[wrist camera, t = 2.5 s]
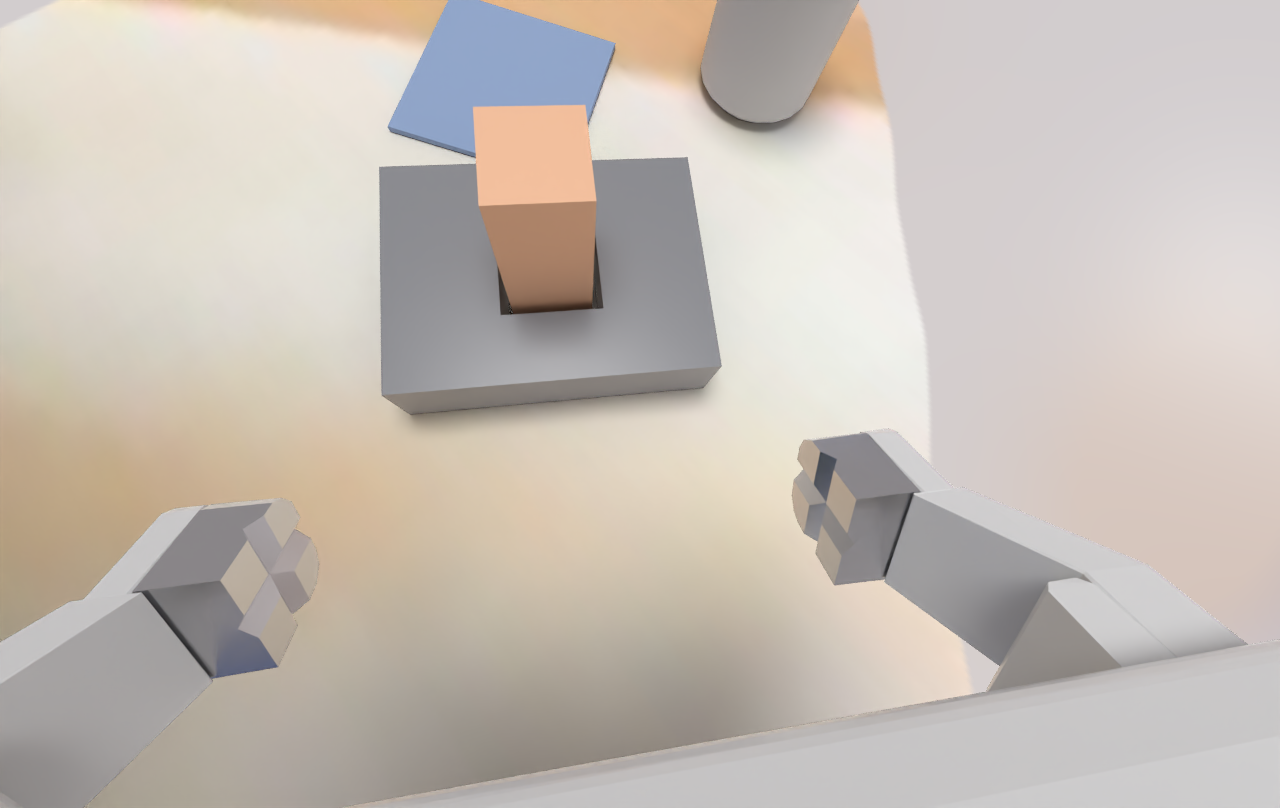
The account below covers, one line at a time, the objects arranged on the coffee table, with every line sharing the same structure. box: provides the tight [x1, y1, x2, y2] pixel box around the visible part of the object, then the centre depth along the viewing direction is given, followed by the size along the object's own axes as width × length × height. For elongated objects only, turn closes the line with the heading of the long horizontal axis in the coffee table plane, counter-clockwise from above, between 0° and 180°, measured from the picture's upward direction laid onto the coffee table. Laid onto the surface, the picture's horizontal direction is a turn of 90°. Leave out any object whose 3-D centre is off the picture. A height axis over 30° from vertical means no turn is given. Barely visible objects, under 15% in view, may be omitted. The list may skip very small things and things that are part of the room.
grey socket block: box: [379, 157, 722, 414], centre depth 28 cm, size 16×12×4 cm
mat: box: [388, 0, 615, 157], centre depth 33 cm, size 11×11×1 cm
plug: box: [473, 105, 596, 314], centre depth 24 cm, size 4×4×12 cm
